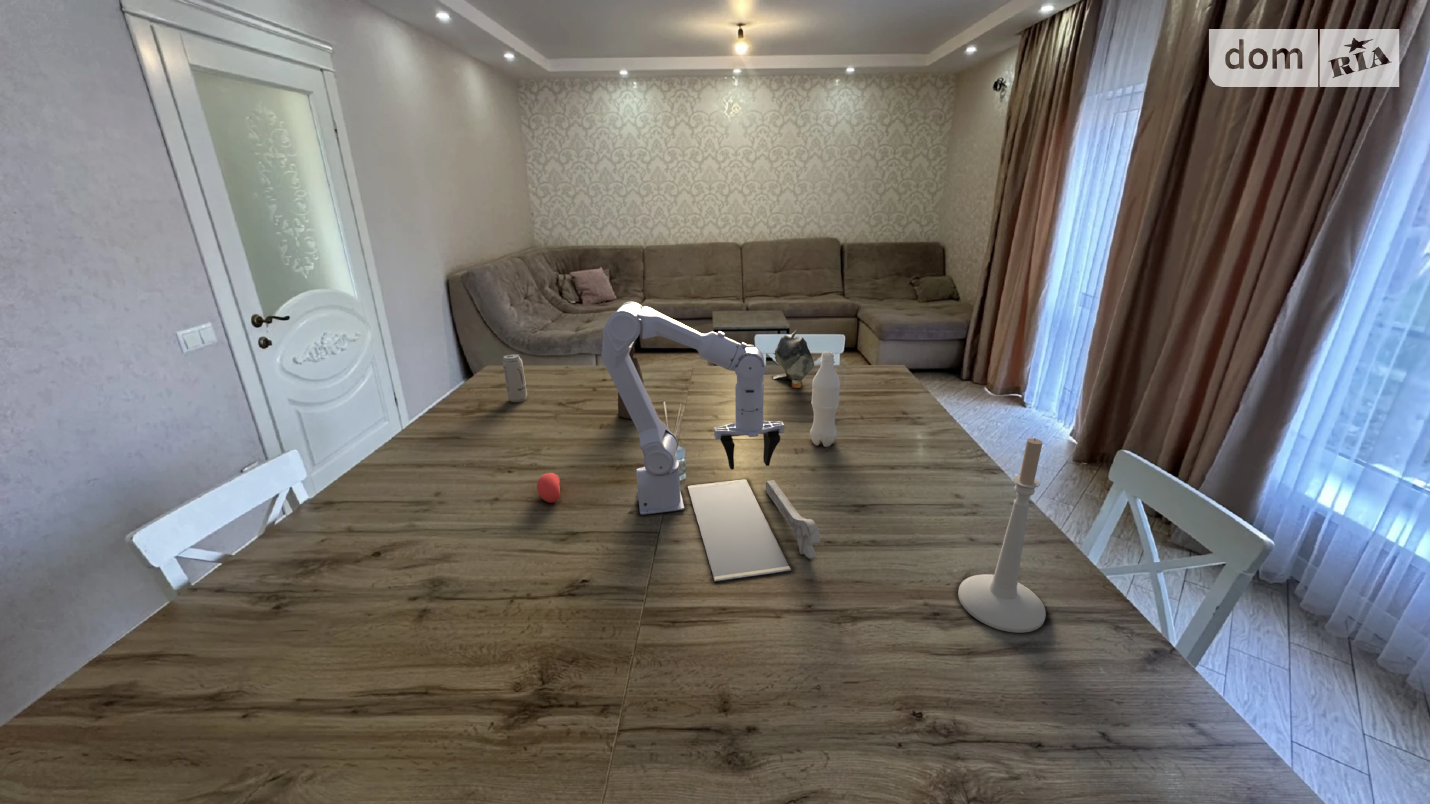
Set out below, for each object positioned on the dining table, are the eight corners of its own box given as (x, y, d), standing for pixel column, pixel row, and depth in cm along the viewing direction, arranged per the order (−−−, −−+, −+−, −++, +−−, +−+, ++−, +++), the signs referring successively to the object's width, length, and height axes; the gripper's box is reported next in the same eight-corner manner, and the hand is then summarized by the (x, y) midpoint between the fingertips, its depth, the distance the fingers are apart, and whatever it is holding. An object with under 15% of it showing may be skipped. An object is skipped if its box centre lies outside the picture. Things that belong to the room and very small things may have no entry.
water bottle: (806, 446, 146) (810, 356, 137) (812, 435, 152) (816, 348, 143) (833, 450, 144) (839, 358, 135) (838, 439, 150) (844, 350, 141)
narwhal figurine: (770, 390, 186) (771, 339, 180) (773, 376, 200) (774, 328, 194) (813, 392, 184) (815, 340, 178) (813, 377, 198) (815, 328, 192)
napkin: (714, 582, 97) (714, 581, 97) (687, 486, 128) (687, 485, 128) (791, 571, 99) (791, 570, 99) (745, 479, 130) (745, 479, 130)
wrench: (773, 500, 127) (820, 570, 98) (765, 501, 126) (810, 571, 98) (772, 468, 125) (821, 529, 96) (764, 468, 124) (810, 530, 96)
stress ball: (531, 509, 122) (536, 492, 118) (537, 478, 129) (542, 461, 125) (555, 513, 124) (560, 496, 120) (560, 482, 130) (565, 465, 127)
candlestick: (1042, 644, 82) (1088, 466, 71) (951, 613, 89) (980, 445, 78) (1047, 594, 92) (1087, 431, 81) (965, 568, 99) (992, 414, 88)
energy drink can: (524, 402, 180) (517, 358, 175) (506, 403, 180) (498, 359, 175) (530, 396, 186) (523, 353, 180) (512, 396, 186) (505, 353, 181)
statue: (645, 410, 172) (640, 332, 163) (648, 419, 165) (643, 338, 156) (618, 412, 171) (611, 334, 162) (619, 422, 164) (612, 340, 155)
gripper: (718, 416, 107) (719, 478, 112) (789, 410, 110) (787, 470, 115) (711, 403, 114) (712, 462, 119) (779, 398, 116) (777, 455, 121)
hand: (748, 465), depth 117 cm, fingers open, 7 cm apart
